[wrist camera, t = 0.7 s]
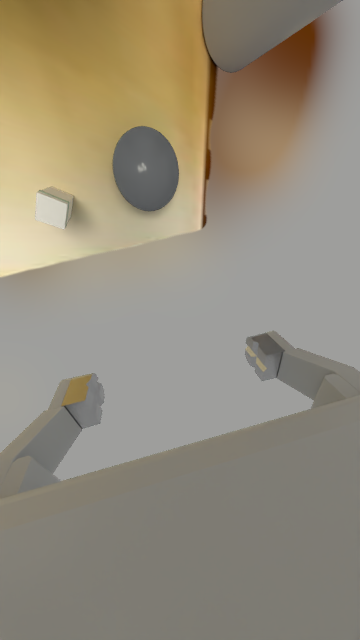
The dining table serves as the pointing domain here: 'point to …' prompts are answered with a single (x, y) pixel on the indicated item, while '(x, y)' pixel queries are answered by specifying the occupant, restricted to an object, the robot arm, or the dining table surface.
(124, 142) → the pedestal
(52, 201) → the column
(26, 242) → the dining table surface
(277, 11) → the cylinder vase
